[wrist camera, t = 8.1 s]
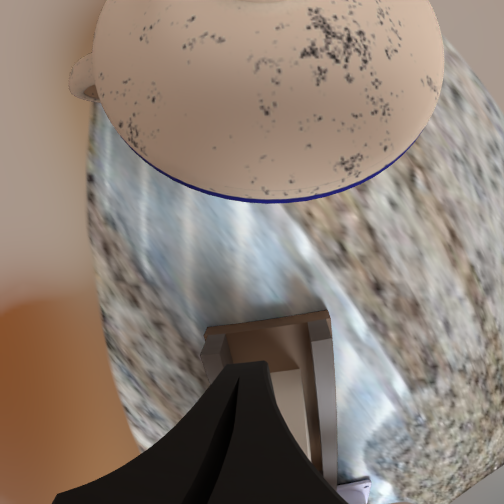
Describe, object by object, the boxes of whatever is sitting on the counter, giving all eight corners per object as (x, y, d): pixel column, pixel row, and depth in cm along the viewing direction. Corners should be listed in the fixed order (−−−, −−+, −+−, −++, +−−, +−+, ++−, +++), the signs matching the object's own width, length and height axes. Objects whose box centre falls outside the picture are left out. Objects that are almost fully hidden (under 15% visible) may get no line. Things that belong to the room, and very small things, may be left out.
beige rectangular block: (300, 368, 16) (308, 465, 10) (309, 439, 18) (315, 520, 11) (249, 375, 17) (236, 470, 10) (268, 444, 19) (263, 524, 12)
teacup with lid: (354, 30, 12) (443, -110, 1) (358, 189, 15) (527, 246, 3) (139, 36, 13) (5, -61, 2) (132, 187, 15) (-55, 233, 4)
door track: (336, 464, 20) (341, 500, 17) (256, 473, 21) (253, 508, 17) (327, 309, 16) (340, 348, 13) (207, 327, 17) (190, 367, 13)
